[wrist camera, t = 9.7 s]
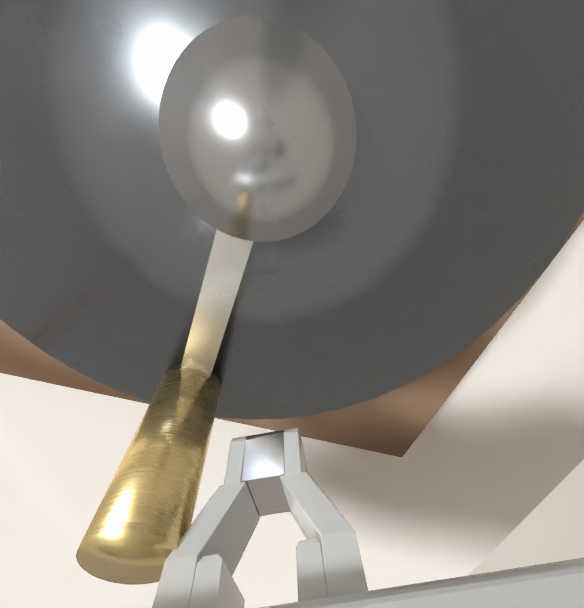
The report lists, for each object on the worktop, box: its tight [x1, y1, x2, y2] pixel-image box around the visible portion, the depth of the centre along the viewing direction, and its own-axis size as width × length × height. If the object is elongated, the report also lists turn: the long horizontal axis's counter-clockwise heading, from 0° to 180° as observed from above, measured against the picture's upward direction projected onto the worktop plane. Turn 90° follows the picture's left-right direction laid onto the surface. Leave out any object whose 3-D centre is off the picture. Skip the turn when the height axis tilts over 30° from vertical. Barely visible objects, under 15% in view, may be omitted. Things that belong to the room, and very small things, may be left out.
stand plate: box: [0, 211, 584, 457], centre depth 11 cm, size 27×27×2 cm
